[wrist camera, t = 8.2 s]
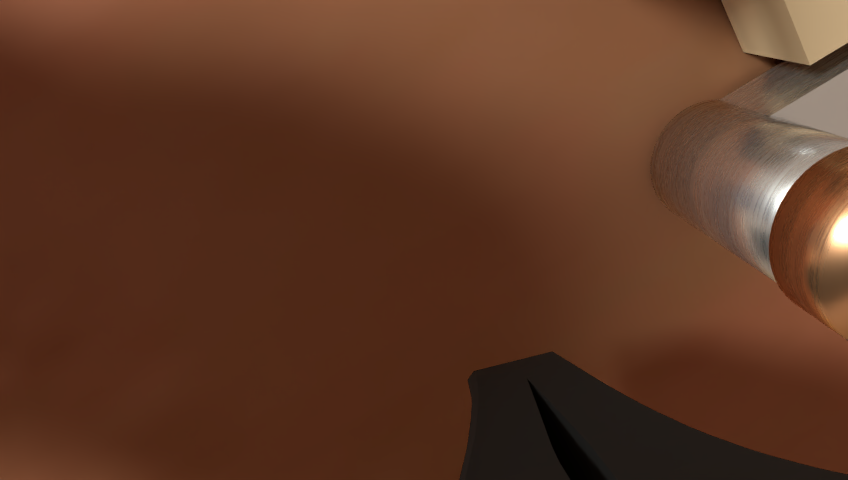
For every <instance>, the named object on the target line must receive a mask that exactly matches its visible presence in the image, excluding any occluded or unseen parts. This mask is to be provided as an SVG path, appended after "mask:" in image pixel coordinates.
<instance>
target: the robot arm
mask: <svg viewBox="0 0 848 480" xmlns="http://www.w3.org/2000/svg"><path fill="white" fill-rule="evenodd" d="M468 383H469V388H470V392H471V397H472V411H471V423H470V430H469V438H468V445H467V450H466V455H465V459H464V463H463V467H462V471H461V475H460V479H459V480H848V475H847V474H843V473H838V472H833V471H829V470H824V469H819V468H815V467H811V466H808V465H804V464H800V463H796V462H792V461H789V460H785V459H781V458H777V457H773V456H770V455H767V454H763V453H760V452H757V451H754V450H750V449H747V448H744V447H742V446H739V445H736V444H733V443H730V442H728V441H725V440H722V439H719V438H717V437H714V436H711V435H708V434H706V433H703V432H701V431H698V430H696V429H694V428H691V427H689V426H686V425H684V424H682V423H680V422H678V421H676V420H673V419H671V418H669V417H667V416H665V415H663V414H661V413H658V412H656V411H654V410H652V409H650V408H648V407H646V406H644V405H642V404H640V403H638V402H637V401H635V400H633V399H631V398H629V397H627V396H625V395H624V394H622V393H620V392H618V391H617V390H615V389H613V388H611V387H610V386H608V385H606V384H604V383H603V382H601V381H599V380H598V379H596V378H594V377H593V376H591V375H589V374H588V373H586V372H585V371H583V370H581V369H580V368H578V367H577V366H575V365H573V364H572V363H570V362H568V361H567V360H565V359H564V358H562V357H560V356H559V355H557V354H555V353H554V352H549V353H545V354H541V355H537V356H533V357H529V358H525V359H521V360H517V361H513V362H509V363H505V364H501V365H497V366H493V367H489V368H485V369H481V370H477V371H474V372H473V373H472V375H471V376H470V377H469V379H468Z"/></svg>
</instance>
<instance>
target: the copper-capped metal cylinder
mask: <svg viewBox="0 0 848 480" xmlns="http://www.w3.org/2000/svg"><path fill="white" fill-rule="evenodd" d="M651 180H652V184H653V187H654V190H655V192H656V194H657V196H658V198H659V199H660V201H661V202H662V203H663V204H664V206H666V207H667V208H668V209H669V210H670V211H672V212H673V213H675V214H676V215H677V216H679V217H680V218H682V219H683V220H685V221H686V222H688V223H689V224H691V225H692V226H694V227H695V228H697V229H698V230H700V231H701V232H703V233H704V234H705V235H707V236H708V237H710V238H711V239H713V240H714V241H716V242H717V243H719V244H720V245H722V246H723V247H725V248H726V249H728V250H729V251H731V252H732V253H733V254H735V255H736V256H738V257H739V258H741V259H742V260H744V261H745V262H747V263H748V264H750V265H751V266H753V267H754V268H756V269H757V270H758V271H760V272H761V273H763V274H764V275H766V276H767V277H769V278H770V279H772V280H773V281H775V282H776V283H777V284H778V285H779V287H780V289H781V290H782V291H783V293H784V294H785V295H786V296H787V297H788V298H789V299H790V300H791V301H792V302H793V303H795V304H796V305H797V306H799V307H800V308H802V309H803V310H805V311H806V312H808V313H809V314H810V315H812V316H813V317H815V318H816V319H818V320H819V321H820V322H822V323H823V324H825V325H826V326H828V327H829V328H830V329H832V330H833V331H835V332H836V333H838V334H839V335H841V336H842V337H843V338H845V339H846V340H848V43H847V44H845V45H843V46H842V47H840V48H838V49H837V50H835V51H833V52H832V53H830V54H828V55H827V56H825V57H823V58H822V59H820V60H818V61H817V62H815V63H813V64H812V65H806V64H801V63H796V62H790V61H785V60H784V61H783V62H781V63H780V64H778V65H776V66H775V67H773V68H771V69H770V70H768V71H766V72H765V73H763V74H761V75H760V76H758V77H756V78H755V79H753V80H751V81H750V82H748V83H747V84H745V85H743V86H742V87H740V88H738V89H737V90H735V91H733V92H732V93H730V94H728V95H727V96H725V97H723V98H722V99H720V100H708V101H704V102H700V103H697V104H695V105H692V106H690V107H688V108H687V109H685V110H683V111H682V112H680V113H679V114H678V115H677V116H675V117H674V118H673V119H672V120H671V121H670V122H669V123H668V125H667V126H666V127H665V128H664V130H663V131H662V133H661V134H660V136H659V138H658V140H657V142H656V144H655V147H654V150H653V154H652V159H651Z"/></svg>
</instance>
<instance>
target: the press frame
mask: <svg viewBox="0 0 848 480" xmlns="http://www.w3.org/2000/svg"><path fill="white" fill-rule="evenodd" d="M721 1H722V4H723V6H724V8H725V11H726V13H727V15H728V18H729V20H730V22H731V25H732V27H733V29H734V32H735V34H736V36H737V39H738V41H739V43H740V46H741V48H742V50H743V52H745V53H750V54H755V55H760V56H765V57H770V58H775V59H780V60H785V61H790V62H796V63H801V64H806V65H812V64H813V63H815V62H817V61H818V60H820V59H822V58H823V57H825V56H827V55H828V54H830V53H832V52H833V51H835V50H837V49H838V48H840V47H842V46H843V45H845V44H847V43H848V0H721Z"/></svg>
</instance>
